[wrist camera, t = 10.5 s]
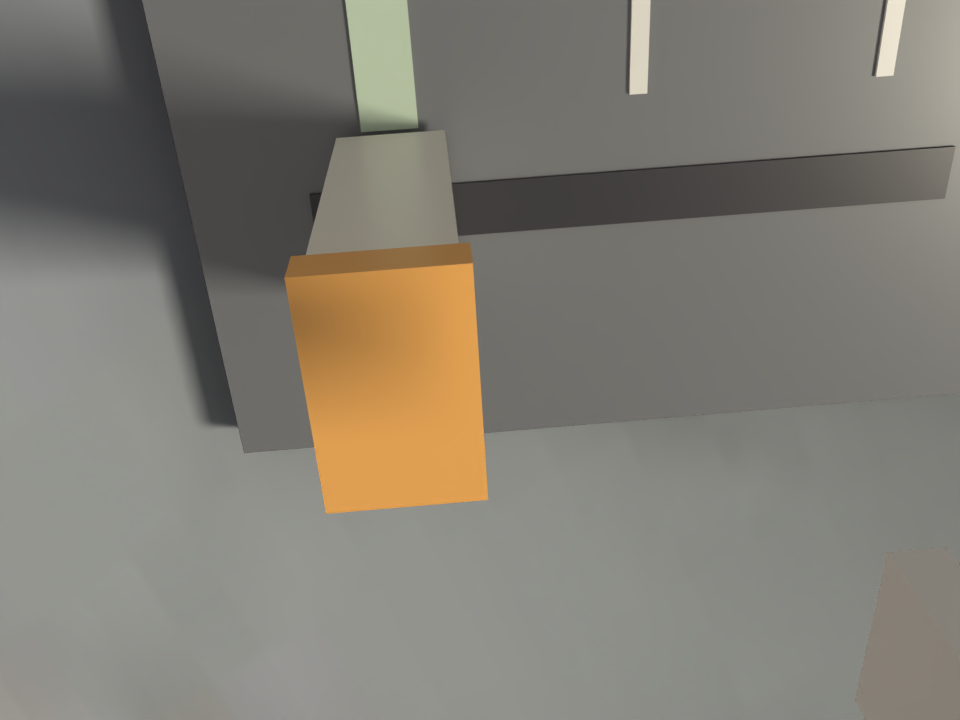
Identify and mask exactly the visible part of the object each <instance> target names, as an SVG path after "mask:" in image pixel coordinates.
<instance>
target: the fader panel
mask: <svg viewBox="0 0 960 720" xmlns="http://www.w3.org/2000/svg"><path fill="white" fill-rule="evenodd" d="M142 2H143V7H144V11H145V16H146V20H147V24H148V29H149V33H150V38H151V42H152V47H153V51H154V56H155V60H156V64H157V69H158V73H159V78H160V82H161V87H162V91H163V96H164V100H165V104H166V109H167V113H168V118H169V122H170V127H171V131H172V135H173V140H174V144H175V149H176V153H177V158H178V162H179V167H180V171H181V175H182V180H183V184H184V189H185V193H186V198H187V202H188V207H189V211H190V215H191V220H192V224H193V229H194V233H195V238H196V242H197V247H198V251H199V255H200V260H201V264H202V269H203V273H204V278H205V282H206V287H207V291H208V295H209V300H210V304H211V309H212V313H213V318H214V322H215V326H216V331H217V335H218V340H219V344H220V349H221V353H222V358H223V362H224V366H225V371H226V375H227V380H228V384H229V389H230V393H231V398H232V402H233V406H234V411H235V415H236V420H237V424H238V429H239V433H240V438H241V442H242V446H243V451H244V453H251V452H263V451H275V450H287V449H299V448H311V447H314V442H313V436H312V431H311V425H310V419H309V414H308V408H307V403H306V397H305V391H304V386H303V380H302V374H301V369H300V363H299V357H298V352H297V346H296V341H295V335H294V329H293V324H292V318H291V312H290V307H289V301H288V295H287V290H286V284H285V279H284V277H285V274H286V271H287V267H288V264H289V261H290V257H291V256H300V255H306V252H307V248H308V244H309V240H310V236H311V233H312V229H313V225H314V221H315V217H316V214H317V210H318V206H319V202H320V198H321V194H322V191H323V187H324V183H325V179H326V175H327V171H328V168H329V164H330V160H331V156H332V152H333V149H334V145H335V141H336V138H342V137H356V136H370V135H383V134H397V133H411V132H424V131H438V130H445V134H446V142H447V151H448V159H449V167H450V175H451V183H452V191H453V200H454V208H455V216H456V224H457V232H458V241H459V243H469V242H470V247H471V254H472V260H473V272H474V288H475V303H476V319H477V335H478V350H479V366H480V381H481V397H482V413H483V428H484V433H490V432H502V431H514V430H526V429H538V428H550V427H562V426H574V425H586V424H598V423H610V422H622V421H634V420H646V419H658V418H670V417H682V416H694V415H706V414H718V413H730V412H742V411H754V410H766V409H778V408H790V407H801V406H813V405H825V404H837V403H849V402H861V401H873V400H885V399H897V398H909V397H921V396H933V395H945V394H957V393H960V0H142Z"/></svg>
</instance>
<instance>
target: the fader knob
mask: <svg viewBox="0 0 960 720" xmlns="http://www.w3.org/2000/svg"><path fill="white" fill-rule="evenodd" d="M284 279H285V284H286V290H287V295H288V301H289V307H290V312H291V318H292V324H293V329H294V335H295V341H296V346H297V352H298V357H299V363H300V369H301V374H302V380H303V386H304V391H305V397H306V403H307V408H308V414H309V419H310V425H311V431H312V436H313V442H314V448H315V453H316V459H317V465H318V470H319V476H320V481H321V487H322V493H323V498H324V504H325V510H326V514H328V513H339V512H351V511H363V510H374V509H386V508H398V507H409V506H421V505H433V504H444V503H456V502H468V501H479V500H488V491H487V475H486V459H485V444H484V428H483V413H482V397H481V381H480V366H479V350H478V335H477V319H476V303H475V288H474V272H473V260H472V254H471V247H470V242H469V243H459V241H458V232H457V224H456V216H455V208H454V200H453V191H452V183H451V175H450V167H449V159H448V151H447V142H446V134H445V130H438V131H424V132H411V133H397V134H383V135H370V136H356V137H342V138H336V141H335V145H334V149H333V152H332V156H331V160H330V164H329V168H328V171H327V175H326V179H325V183H324V187H323V191H322V194H321V198H320V202H319V206H318V210H317V214H316V217H315V221H314V225H313V229H312V233H311V236H310V240H309V244H308V248H307V252H306V255H300V256H291V257H290V261H289V264H288V267H287V271H286V274H285V277H284Z"/></svg>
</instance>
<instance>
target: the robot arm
mask: <svg viewBox="0 0 960 720" xmlns="http://www.w3.org/2000/svg"><path fill="white" fill-rule="evenodd" d="M855 701H856V703H857V705H858V706H859V708H860V710H861V712H862V714H863V716H864V718H865V720H960V564H959V563H958V562H957V560H956V559H955V558H954V556H953V555H952V554H951V553H950V551H949V550H948V549H947V547H941V548H930V549H919V550H907V551H896V552H887V556H886V561H885V565H884V570H883V575H882V579H881V584H880V588H879V593H878V598H877V602H876V607H875V612H874V616H873V621H872V625H871V630H870V635H869V639H868V644H867V648H866V653H865V658H864V662H863V667H862V672H861V676H860V681H859V685H858V690H857V695H856V699H855Z"/></svg>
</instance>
